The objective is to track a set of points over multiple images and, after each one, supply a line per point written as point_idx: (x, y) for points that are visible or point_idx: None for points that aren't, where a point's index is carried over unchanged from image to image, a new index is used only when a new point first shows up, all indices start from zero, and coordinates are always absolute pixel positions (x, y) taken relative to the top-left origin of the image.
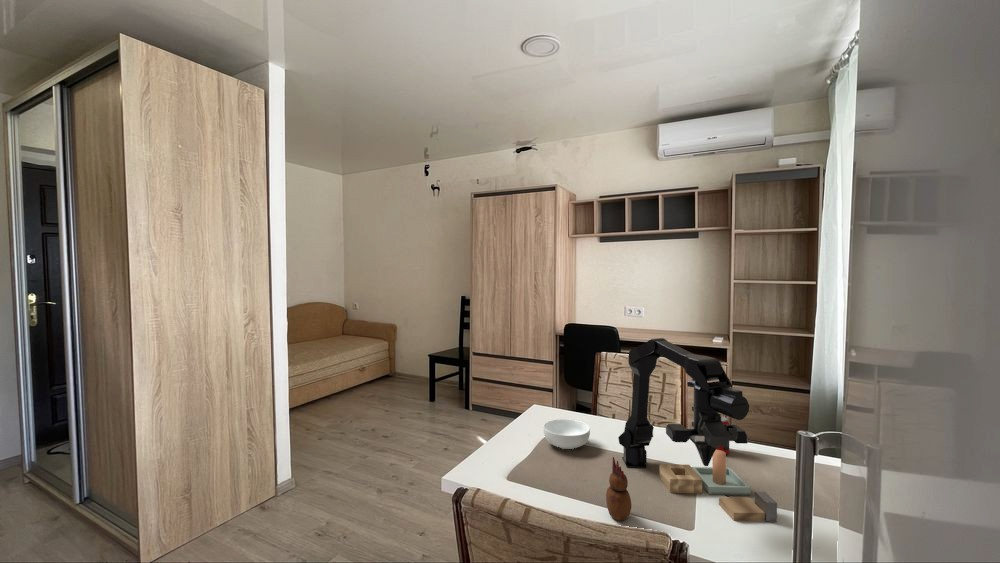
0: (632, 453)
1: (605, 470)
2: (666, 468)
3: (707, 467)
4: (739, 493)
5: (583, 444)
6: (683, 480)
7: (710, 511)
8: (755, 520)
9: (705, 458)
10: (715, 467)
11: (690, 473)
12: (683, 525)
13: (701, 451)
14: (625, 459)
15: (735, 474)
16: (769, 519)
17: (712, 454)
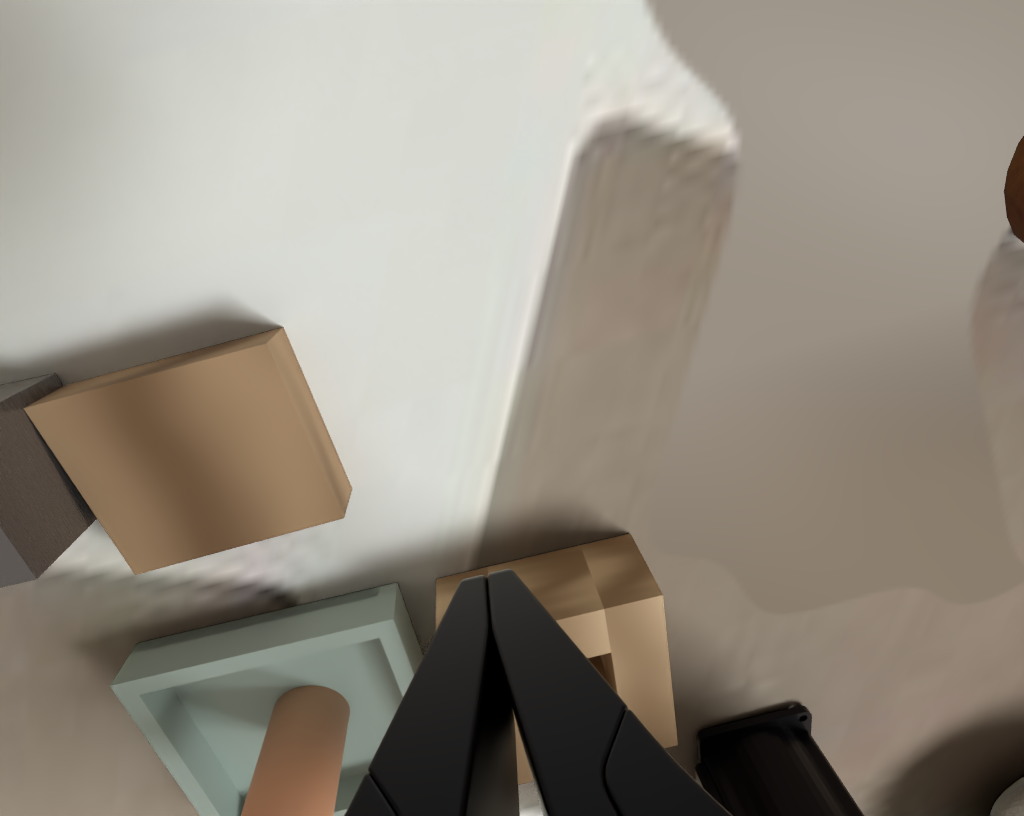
0: (820, 798)
1: (930, 644)
2: (647, 710)
3: None
4: (201, 634)
5: (1018, 813)
6: (566, 611)
7: (421, 397)
8: (129, 368)
9: (530, 662)
10: (316, 798)
11: None
12: (643, 172)
13: (697, 795)
14: (821, 754)
15: (196, 795)
16: (20, 384)
17: (373, 788)
